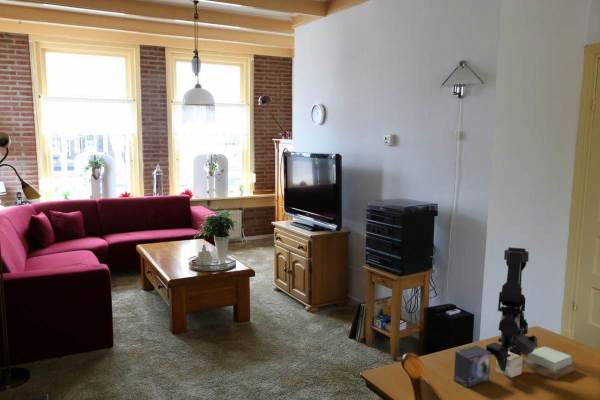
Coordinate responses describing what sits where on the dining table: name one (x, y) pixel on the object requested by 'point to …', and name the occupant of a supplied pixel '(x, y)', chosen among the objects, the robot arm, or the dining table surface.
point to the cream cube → (511, 365)
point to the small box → (472, 366)
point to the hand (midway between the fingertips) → (508, 368)
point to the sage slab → (550, 358)
